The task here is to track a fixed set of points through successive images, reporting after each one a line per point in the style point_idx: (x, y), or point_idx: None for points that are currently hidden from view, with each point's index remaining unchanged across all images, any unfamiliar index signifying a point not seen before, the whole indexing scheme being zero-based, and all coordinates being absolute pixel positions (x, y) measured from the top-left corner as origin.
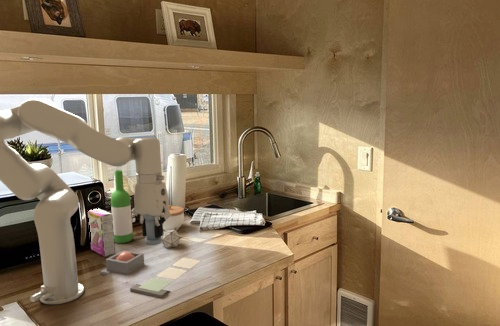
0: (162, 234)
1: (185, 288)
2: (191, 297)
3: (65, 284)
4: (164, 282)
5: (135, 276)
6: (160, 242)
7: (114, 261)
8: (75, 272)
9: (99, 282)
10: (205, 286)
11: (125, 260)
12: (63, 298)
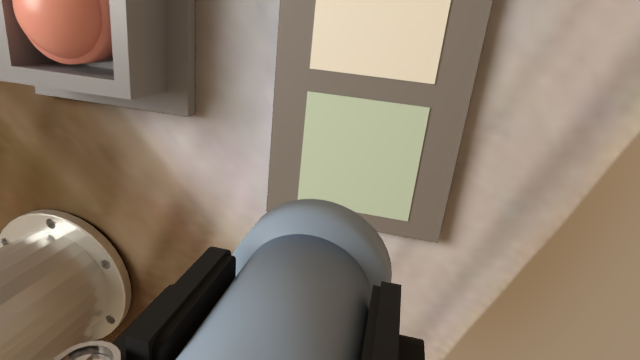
0: (399, 295)
1: (514, 126)
2: (578, 204)
3: (69, 344)
4: (392, 128)
5: (202, 69)
6: (390, 281)
7: (56, 88)
8: (40, 319)
9: (104, 163)
10: (627, 77)
11: (92, 50)
12: (104, 322)
